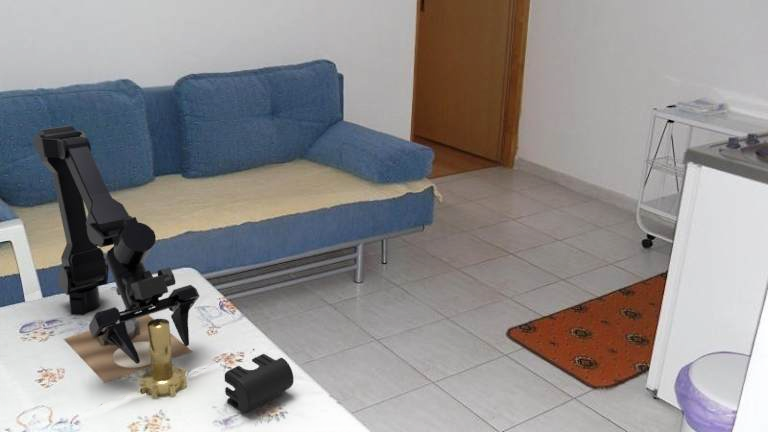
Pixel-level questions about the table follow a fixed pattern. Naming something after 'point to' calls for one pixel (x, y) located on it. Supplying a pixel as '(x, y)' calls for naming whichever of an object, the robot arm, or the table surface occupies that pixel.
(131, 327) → the sun gear
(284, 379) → the end cap
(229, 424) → the table surface
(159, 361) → the gear
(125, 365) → the carrier board
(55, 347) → the table surface
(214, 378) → the table surface
